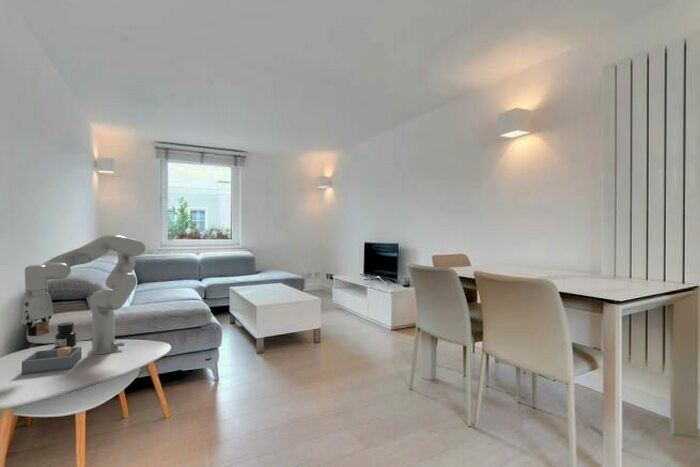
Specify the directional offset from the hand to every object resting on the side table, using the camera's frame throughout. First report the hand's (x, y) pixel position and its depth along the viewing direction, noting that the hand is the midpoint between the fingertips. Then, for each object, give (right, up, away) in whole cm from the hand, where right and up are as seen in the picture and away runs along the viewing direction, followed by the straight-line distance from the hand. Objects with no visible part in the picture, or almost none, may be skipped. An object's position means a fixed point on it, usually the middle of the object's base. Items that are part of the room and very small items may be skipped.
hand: (38, 333), depth 156 cm
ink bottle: (-15, -17, +34) cm, 41 cm away
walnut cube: (0, -1, 0) cm, 1 cm away
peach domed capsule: (+5, -16, +8) cm, 19 cm away
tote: (+1, -17, +6) cm, 18 cm away
